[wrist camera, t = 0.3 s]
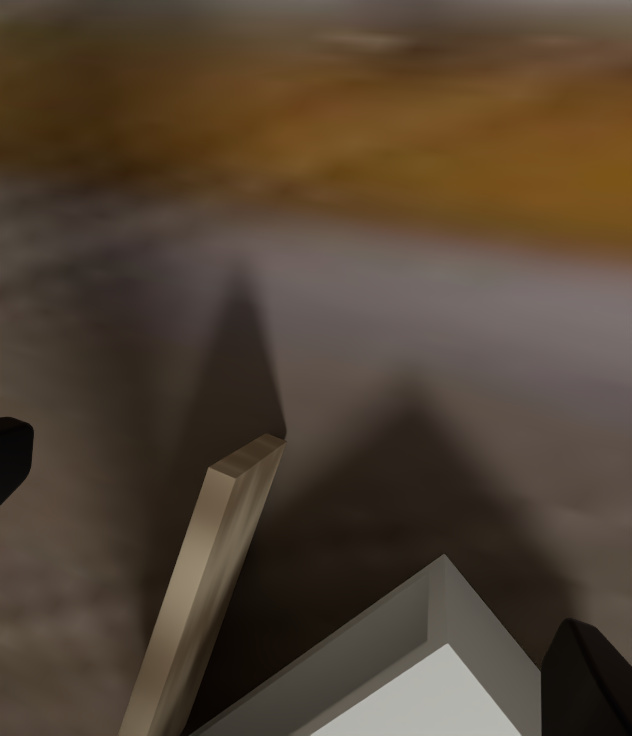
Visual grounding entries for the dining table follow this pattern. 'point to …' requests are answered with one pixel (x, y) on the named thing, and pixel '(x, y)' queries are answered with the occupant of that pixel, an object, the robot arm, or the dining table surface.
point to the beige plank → (201, 588)
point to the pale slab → (401, 673)
